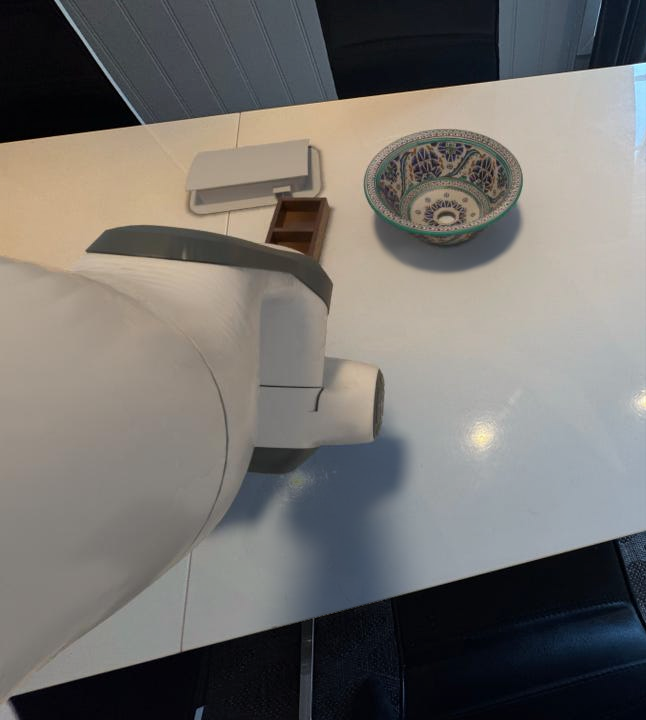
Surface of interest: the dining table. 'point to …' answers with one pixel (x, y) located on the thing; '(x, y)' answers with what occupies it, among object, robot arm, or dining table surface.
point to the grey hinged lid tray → (252, 176)
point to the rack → (300, 224)
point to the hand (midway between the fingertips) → (96, 385)
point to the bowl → (443, 184)
